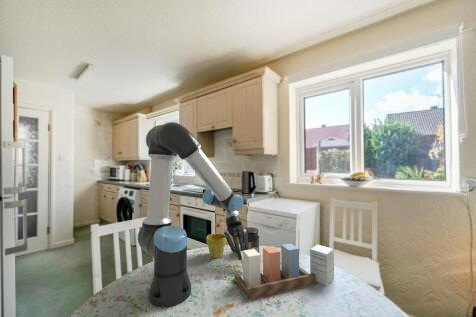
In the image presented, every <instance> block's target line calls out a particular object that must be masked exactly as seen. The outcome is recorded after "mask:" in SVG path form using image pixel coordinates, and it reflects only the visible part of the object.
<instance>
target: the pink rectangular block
mask: <svg viewBox="0 0 476 317" xmlns="http://www.w3.org/2000/svg"><path fill="white" fill-rule="evenodd" d="M280 270H281V251H280V250H279V249H278V248H276V247H275V246H274V245H272V246H266V247H265V246H264V247H262V275H263V276H264V277H265V278H266V279H267V280H268V281H269V282H274V281H279V280H282V278H280Z"/></svg>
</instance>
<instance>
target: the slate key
mask: <svg viewBox="0 0 476 317" xmlns="http://www.w3.org/2000/svg"><path fill="white" fill-rule="evenodd" d="M280 248H281V249H280V250H281V251H280V270H281V271H282V272H283V273H285V274H286V275H287V276H288V277H289V278H293V277H298V276H300V274H299V266H300V248H299V247H297V246H296V245H294V244H293V243H286V244H281V246H280Z"/></svg>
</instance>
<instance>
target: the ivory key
mask: <svg viewBox="0 0 476 317" xmlns="http://www.w3.org/2000/svg"><path fill="white" fill-rule="evenodd" d="M261 255H262V254H260V253H258V252H257V251H256V250H255V249H251V250H244V251H243V268H242V279H243V281H244V282H245V283H246V285H247V286H248V287H251V286H256V285H260V284H262V282H261V273H262V271H261Z"/></svg>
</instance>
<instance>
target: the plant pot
mask: <svg viewBox="0 0 476 317" xmlns="http://www.w3.org/2000/svg"><path fill="white" fill-rule="evenodd" d="M223 234H224V233H211V234H208V235H207V236H206V240H205V241H206V246H207V247H208V248H207V249H208V250H209V256H210V257H211V258H214V259H219V258H222V257H224V256H223V255H224V250H225V246H226V244H227V239H226V238H225V237H224V236H223Z"/></svg>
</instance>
